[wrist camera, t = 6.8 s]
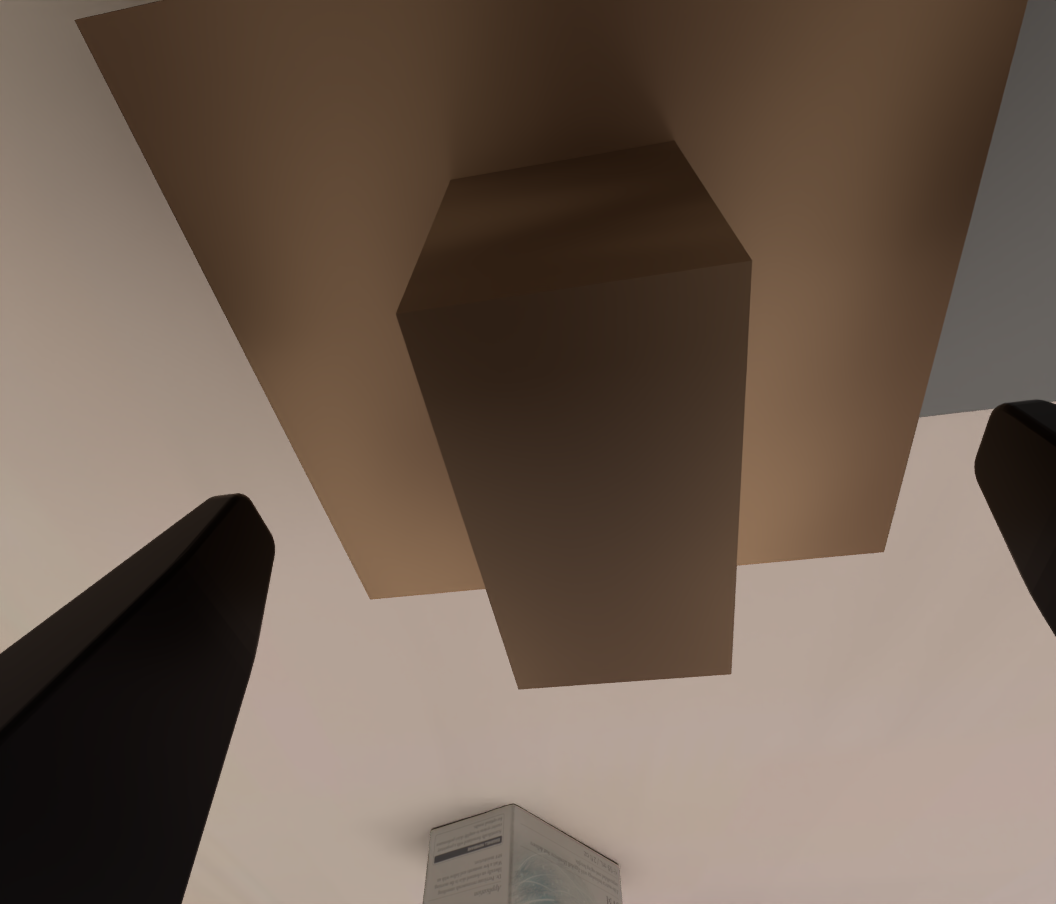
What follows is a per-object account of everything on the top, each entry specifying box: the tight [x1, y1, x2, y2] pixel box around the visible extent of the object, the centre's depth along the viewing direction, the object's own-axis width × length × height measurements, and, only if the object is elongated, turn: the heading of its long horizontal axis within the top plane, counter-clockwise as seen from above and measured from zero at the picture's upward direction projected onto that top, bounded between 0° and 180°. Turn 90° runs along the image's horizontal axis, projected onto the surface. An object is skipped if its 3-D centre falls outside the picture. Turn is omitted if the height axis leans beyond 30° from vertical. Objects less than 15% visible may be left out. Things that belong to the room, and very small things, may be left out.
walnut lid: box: [75, 0, 1028, 689], centre depth 9 cm, size 11×11×5 cm
